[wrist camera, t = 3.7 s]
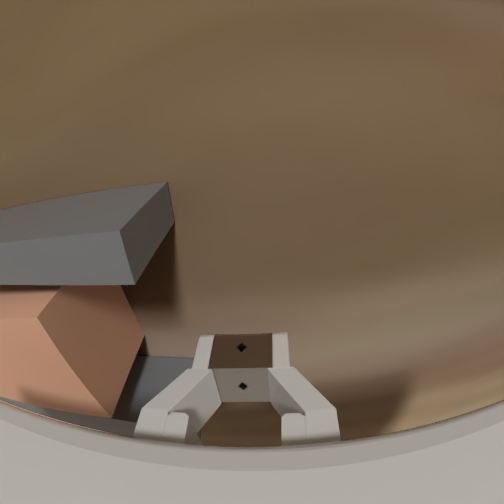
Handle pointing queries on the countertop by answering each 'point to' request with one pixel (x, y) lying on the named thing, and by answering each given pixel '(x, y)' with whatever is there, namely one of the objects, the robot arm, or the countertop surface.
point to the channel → (93, 271)
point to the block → (67, 346)
